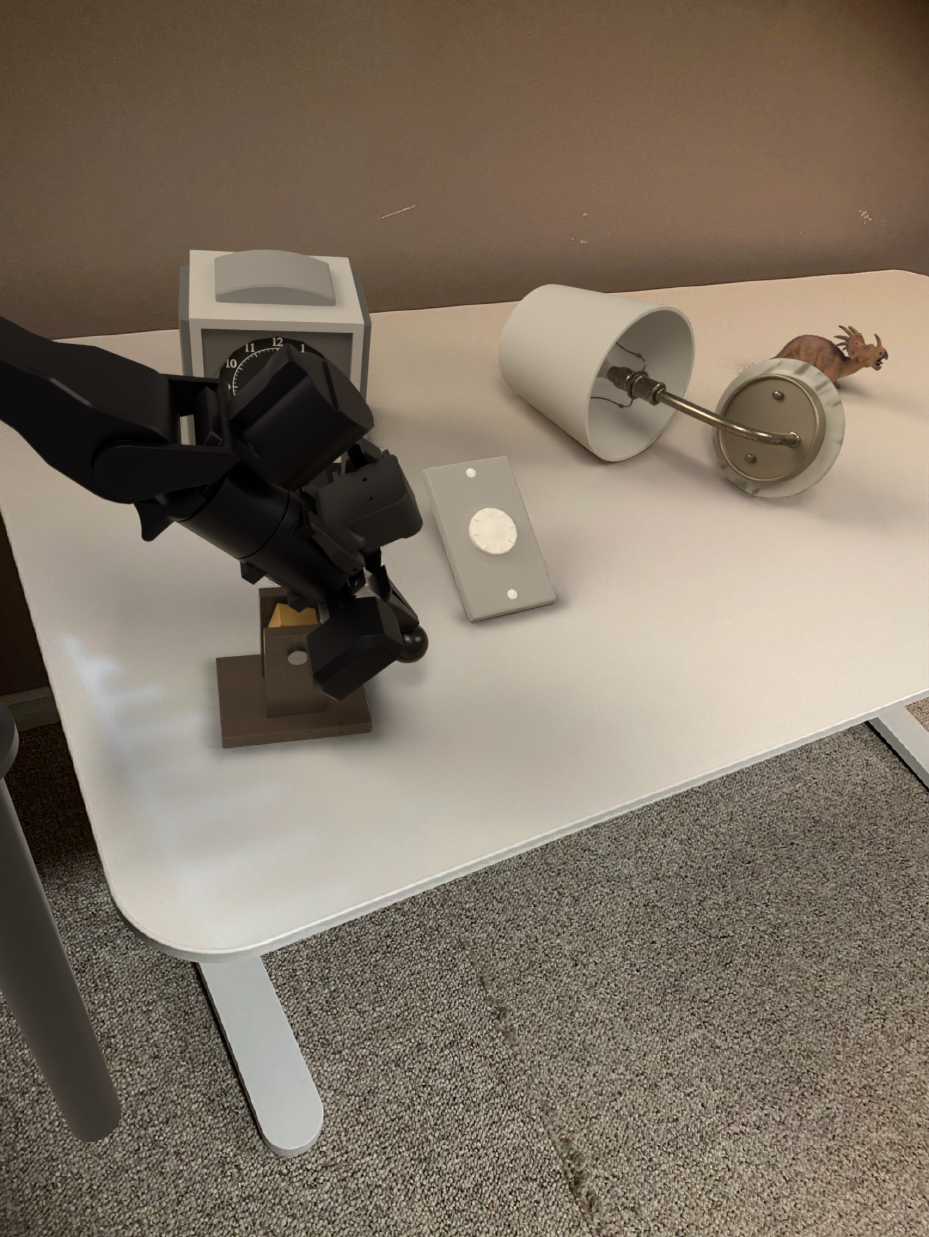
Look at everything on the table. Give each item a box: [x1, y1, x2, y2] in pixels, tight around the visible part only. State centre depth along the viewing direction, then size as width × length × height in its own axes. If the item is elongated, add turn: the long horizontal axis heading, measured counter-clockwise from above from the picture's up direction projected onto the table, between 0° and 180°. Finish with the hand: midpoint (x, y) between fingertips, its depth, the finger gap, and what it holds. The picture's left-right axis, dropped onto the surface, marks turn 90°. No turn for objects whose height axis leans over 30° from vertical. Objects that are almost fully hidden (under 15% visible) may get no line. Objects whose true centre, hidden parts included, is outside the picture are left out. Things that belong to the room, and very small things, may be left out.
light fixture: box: [497, 283, 846, 500], centre depth 97 cm, size 17×19×34 cm
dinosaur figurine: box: [768, 324, 889, 389], centre depth 117 cm, size 14×6×9 cm, turn 75°
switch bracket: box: [215, 586, 373, 749], centre depth 69 cm, size 11×8×10 cm
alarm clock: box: [177, 249, 373, 470], centre depth 90 cm, size 18×13×18 cm
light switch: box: [420, 455, 558, 623], centre depth 85 cm, size 8×6×14 cm
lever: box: [268, 603, 430, 665], centre depth 69 cm, size 12×3×3 cm, turn 104°
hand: (414, 624), depth 69 cm, fingers closed, pressing on switch bracket
